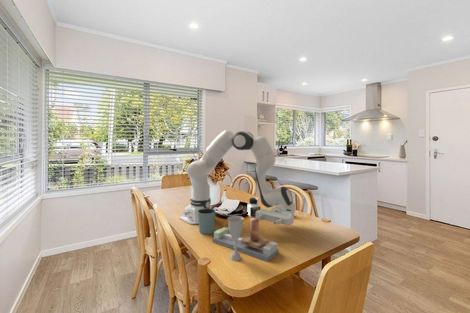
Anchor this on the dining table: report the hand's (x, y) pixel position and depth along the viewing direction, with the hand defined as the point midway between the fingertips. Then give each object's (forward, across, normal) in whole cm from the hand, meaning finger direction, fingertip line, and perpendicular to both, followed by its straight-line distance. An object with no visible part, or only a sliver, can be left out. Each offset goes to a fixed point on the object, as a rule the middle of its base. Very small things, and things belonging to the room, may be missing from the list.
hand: (266, 220), depth 120 cm
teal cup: (+9, -34, +11) cm, 37 cm away
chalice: (+22, -3, +11) cm, 25 cm away
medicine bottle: (-30, -27, +11) cm, 42 cm away
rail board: (+12, -6, +11) cm, 17 cm away
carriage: (+12, 0, +7) cm, 14 cm away
